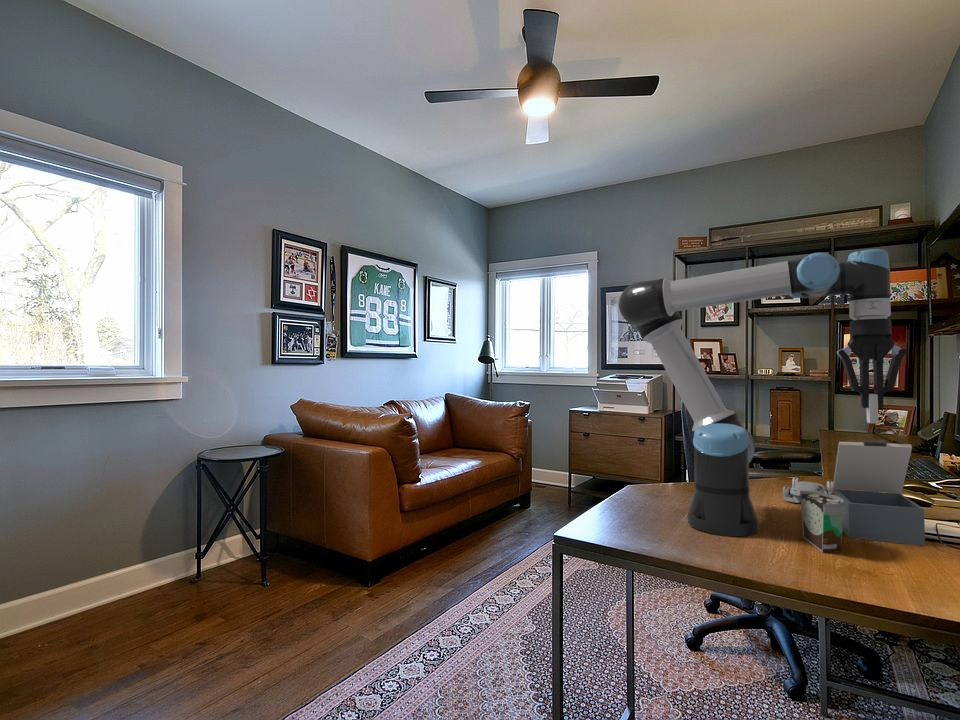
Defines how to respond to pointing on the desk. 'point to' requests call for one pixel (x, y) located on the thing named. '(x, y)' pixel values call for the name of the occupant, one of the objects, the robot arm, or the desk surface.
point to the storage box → (882, 517)
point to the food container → (822, 520)
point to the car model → (804, 489)
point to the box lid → (871, 466)
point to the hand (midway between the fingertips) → (872, 422)
